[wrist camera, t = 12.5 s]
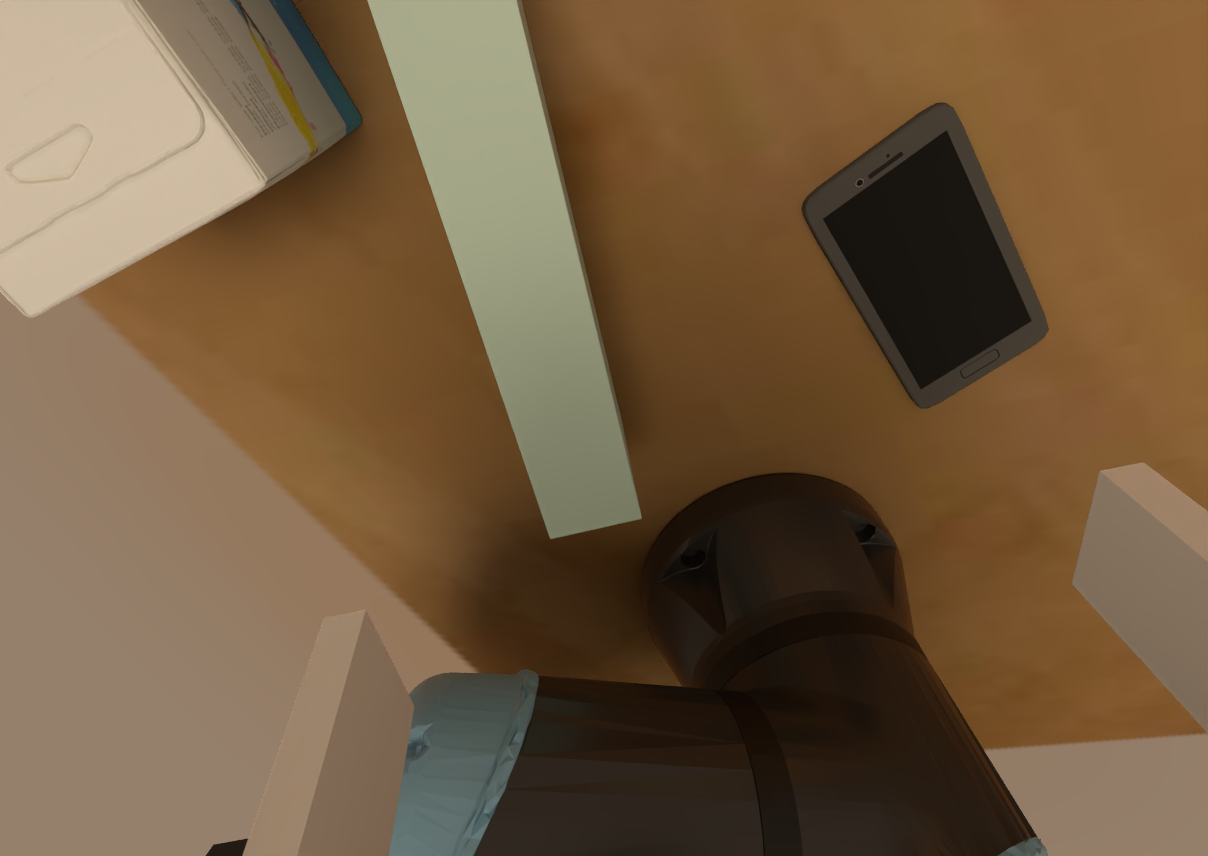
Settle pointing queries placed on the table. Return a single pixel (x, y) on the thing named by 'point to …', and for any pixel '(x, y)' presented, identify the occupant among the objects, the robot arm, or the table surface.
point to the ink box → (146, 128)
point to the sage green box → (514, 245)
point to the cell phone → (928, 257)
